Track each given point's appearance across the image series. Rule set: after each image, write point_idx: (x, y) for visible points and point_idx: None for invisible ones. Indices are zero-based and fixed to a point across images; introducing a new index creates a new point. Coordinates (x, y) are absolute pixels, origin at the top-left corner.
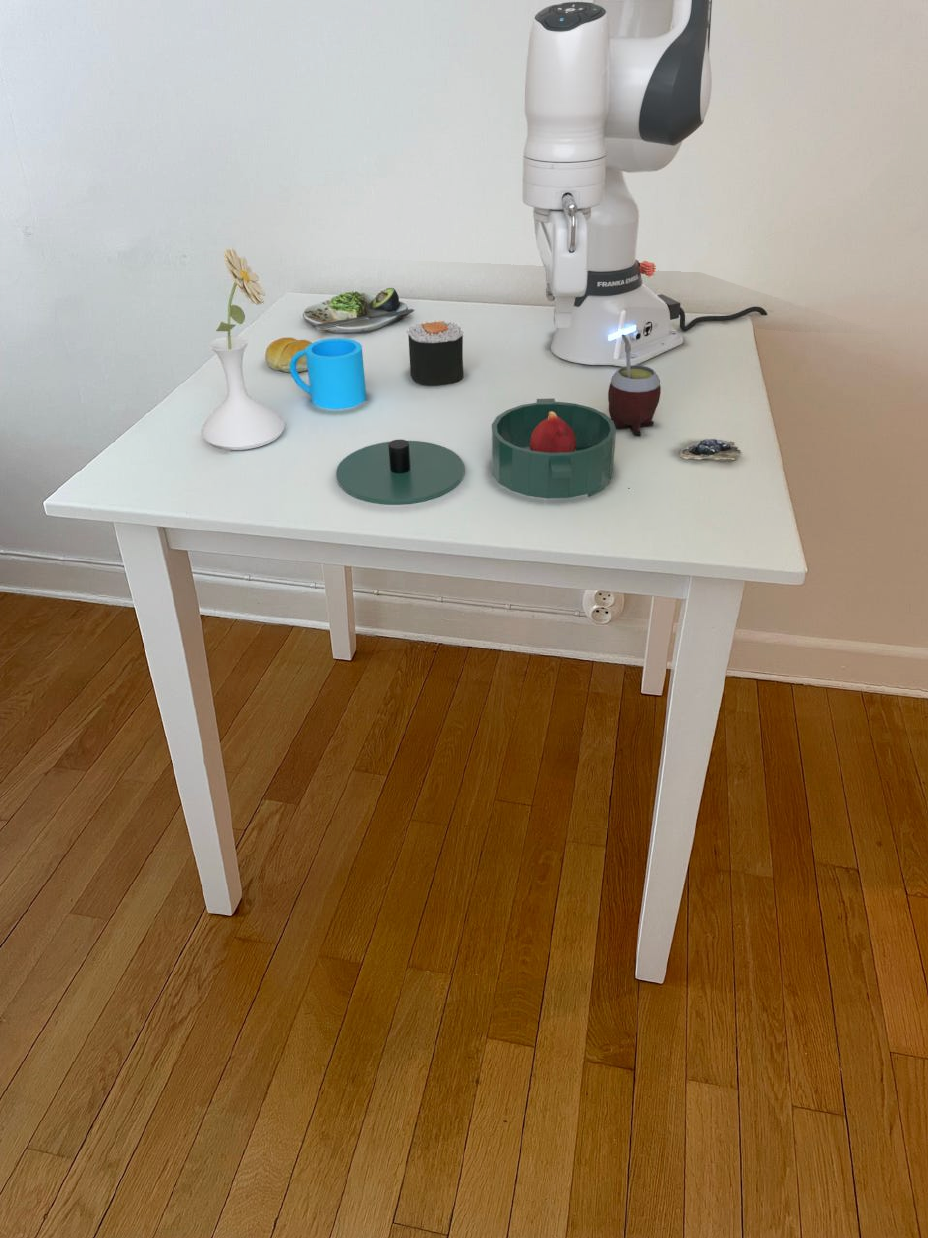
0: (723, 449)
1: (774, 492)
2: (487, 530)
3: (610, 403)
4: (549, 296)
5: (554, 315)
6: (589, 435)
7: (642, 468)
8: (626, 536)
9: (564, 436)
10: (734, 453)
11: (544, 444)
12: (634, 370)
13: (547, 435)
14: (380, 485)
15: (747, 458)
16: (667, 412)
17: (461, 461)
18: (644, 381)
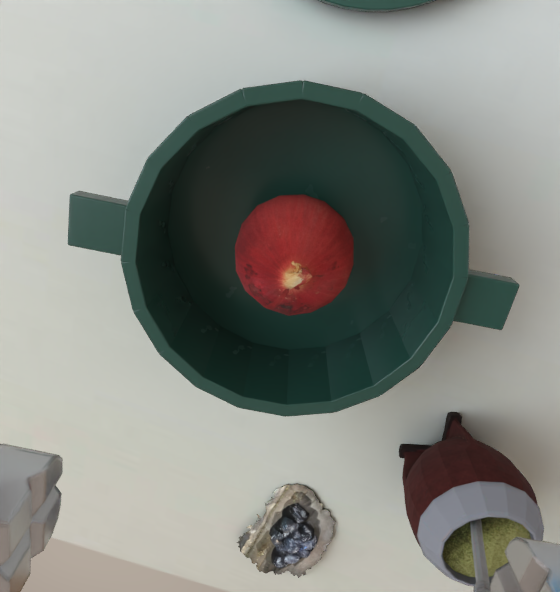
0: (275, 553)
1: (133, 557)
2: (56, 4)
3: (467, 447)
4: (523, 560)
5: (4, 483)
6: (354, 355)
7: None
8: (10, 293)
9: (246, 282)
10: (261, 561)
11: (248, 224)
12: None
13: (255, 240)
14: None
15: (255, 570)
16: None
17: (378, 6)
18: (434, 548)
